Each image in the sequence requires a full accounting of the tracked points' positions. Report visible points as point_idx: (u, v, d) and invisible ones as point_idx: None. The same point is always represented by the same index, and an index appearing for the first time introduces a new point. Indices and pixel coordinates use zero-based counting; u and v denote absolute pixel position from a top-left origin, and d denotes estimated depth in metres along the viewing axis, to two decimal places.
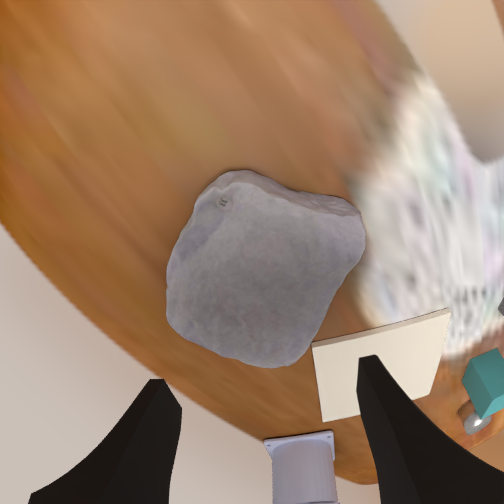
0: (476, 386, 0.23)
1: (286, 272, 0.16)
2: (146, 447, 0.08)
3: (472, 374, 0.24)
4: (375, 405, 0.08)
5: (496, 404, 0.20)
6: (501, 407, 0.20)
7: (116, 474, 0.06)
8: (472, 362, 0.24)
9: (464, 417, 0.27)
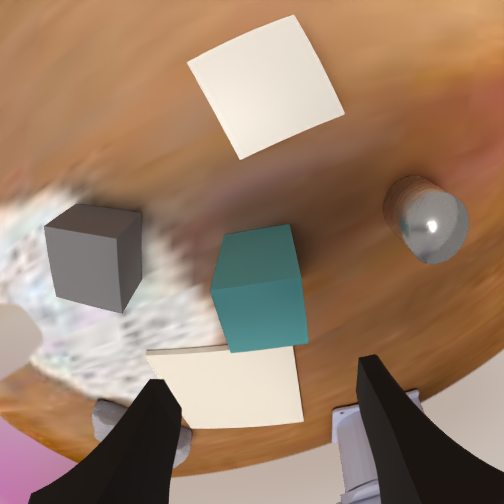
0: None
1: None
2: (146, 447, 0.08)
3: None
4: (375, 405, 0.08)
5: (259, 331, 0.14)
6: (292, 299, 0.13)
7: (116, 475, 0.06)
8: None
9: None
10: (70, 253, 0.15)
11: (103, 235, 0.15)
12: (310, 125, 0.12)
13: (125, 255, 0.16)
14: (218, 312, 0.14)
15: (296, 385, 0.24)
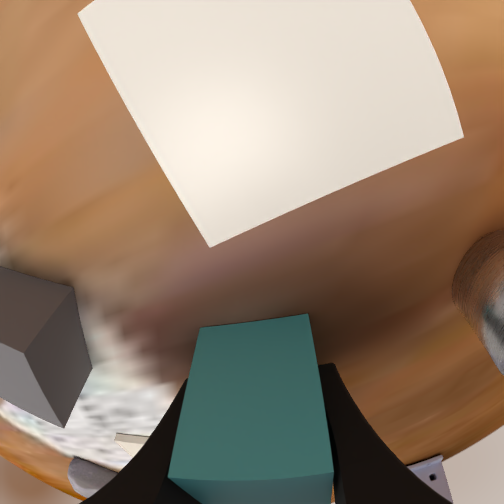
0: None
1: None
2: None
3: None
4: None
5: None
6: (312, 487, 0.06)
7: (165, 483, 0.06)
8: None
9: None
10: None
11: (8, 342, 0.07)
12: (391, 160, 0.04)
13: (50, 361, 0.09)
14: (187, 491, 0.06)
15: None
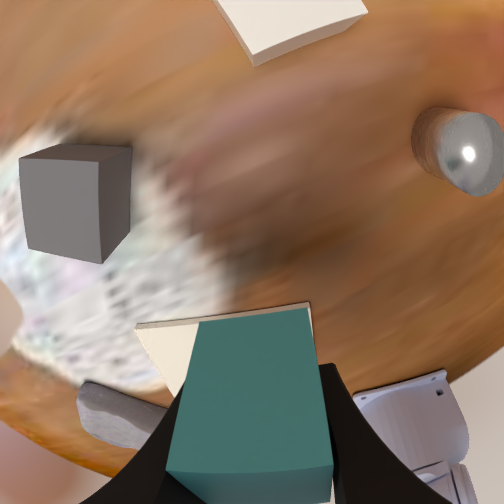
0: None
1: (112, 432, 0.23)
2: None
3: None
4: None
5: (254, 499, 0.07)
6: (312, 481, 0.06)
7: (164, 483, 0.06)
8: None
9: None
10: (45, 188, 0.12)
11: (83, 160, 0.11)
12: (332, 20, 0.08)
13: (109, 189, 0.13)
14: (186, 485, 0.06)
15: None
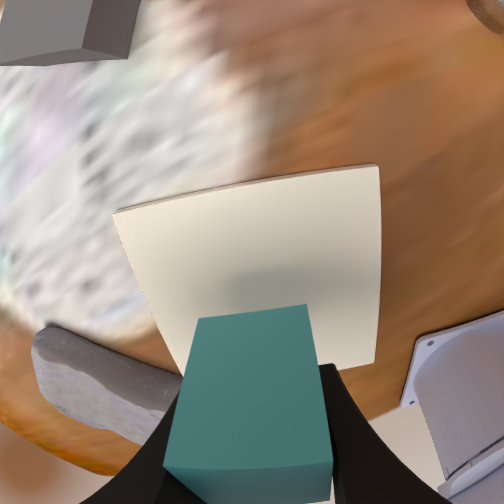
0: None
1: (77, 400, 0.16)
2: None
3: None
4: None
5: (253, 498, 0.07)
6: (311, 478, 0.06)
7: (165, 483, 0.06)
8: None
9: None
10: None
11: None
12: None
13: None
14: (183, 482, 0.06)
15: (377, 275, 0.14)
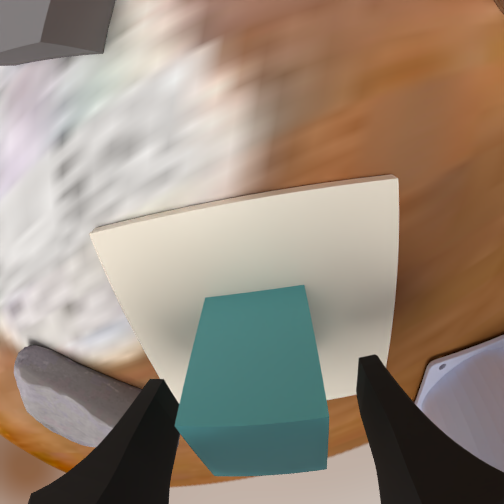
0: None
1: (64, 421, 0.14)
2: (145, 447, 0.08)
3: None
4: (375, 405, 0.08)
5: (255, 463, 0.08)
6: (309, 438, 0.07)
7: (116, 474, 0.06)
8: None
9: None
10: None
11: None
12: None
13: None
14: (191, 446, 0.07)
15: (391, 300, 0.12)
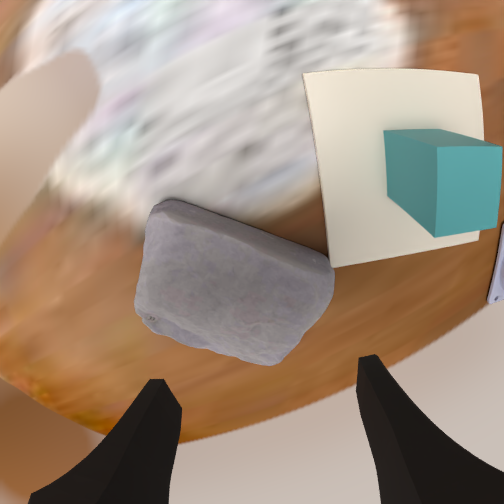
0: None
1: (200, 286, 0.17)
2: (146, 448, 0.08)
3: None
4: (375, 405, 0.08)
5: (466, 206, 0.11)
6: (494, 170, 0.10)
7: (116, 475, 0.06)
8: (390, 197, 0.16)
9: None
10: None
11: None
12: None
13: None
14: (438, 176, 0.10)
15: None
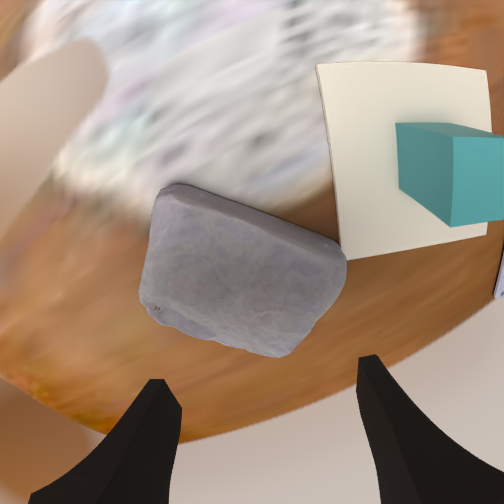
0: None
1: (208, 272, 0.17)
2: (146, 447, 0.08)
3: None
4: (375, 405, 0.08)
5: (480, 196, 0.10)
6: None
7: (116, 475, 0.06)
8: (402, 190, 0.16)
9: None
10: None
11: None
12: None
13: None
14: (454, 166, 0.10)
15: None
